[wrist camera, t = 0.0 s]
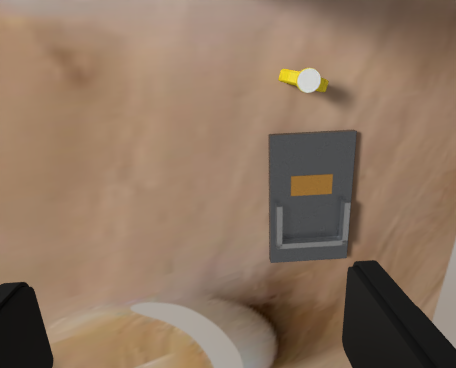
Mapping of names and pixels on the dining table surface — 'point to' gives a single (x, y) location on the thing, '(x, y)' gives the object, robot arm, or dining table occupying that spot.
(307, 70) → the watch
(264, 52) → the dining table surface
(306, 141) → the gray fixture board
